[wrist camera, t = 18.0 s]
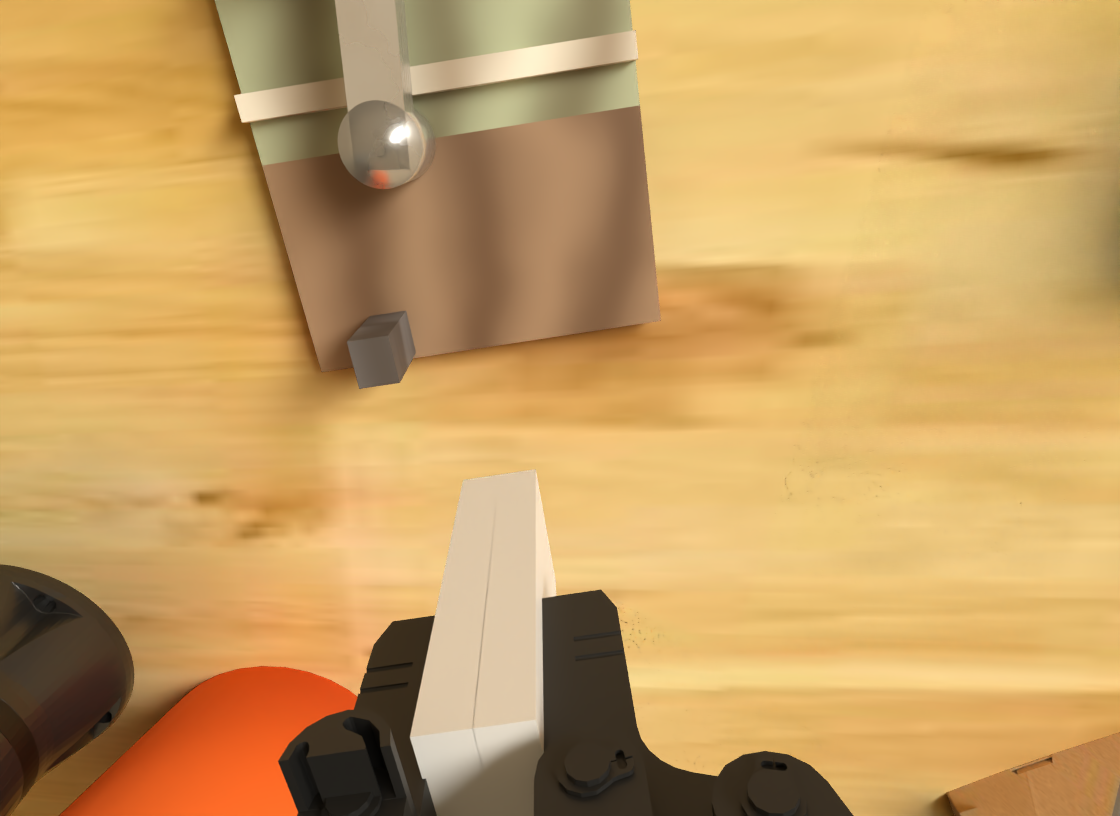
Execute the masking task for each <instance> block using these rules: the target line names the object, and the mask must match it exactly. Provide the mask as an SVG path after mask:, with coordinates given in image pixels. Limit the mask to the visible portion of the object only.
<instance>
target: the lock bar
mask: <svg viewBox="0 0 1120 816" xmlns="http://www.w3.org/2000/svg"><path fill="white" fill-rule="evenodd" d="M335 5H336V14H337V23H338V31H339V40H340V48H341V57H342V65H343V74H344V83H345V91H346V100H347V108H348V113H347V114H346V116H345V117H344V118H343V120H342V122H341V125H340V128H339V132H338V149H339V154H340V157H341V159H342V162H343V164H344V165H345V167H346V169H347V170H348V171H349V172H350V174H351V175H352V176H353V177H354V178H356V179H357V180H358V181H360V182H361V183H363V184H365V185H367V186H370V187H373V188H377V189H390V188H394V187H397V186H400V185H402V184H405V183H407V182H409V181H412V180H414V179H417V178H418V177H420V176H422V175H423V174H424V173H425V172H426V171H427V170H428V169H429V167H430V166H431V164H432V162H433V159H434V156H435V150H436V141H435V136H434V132H433V130H432V128H431V126H430V124H429V122H428V121H427V119H426V118H425V117H424V116H423V115H422V114H421V113H420V112H418V111H417V110H415V109H414V108H413V97H412V86H411V74H410V62H409V50H408V39H407V27H406V15H405V3H404V0H335Z"/></svg>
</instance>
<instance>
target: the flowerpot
mask: <svg viewBox="0 0 1120 816" xmlns="http://www.w3.org/2000/svg"><path fill="white" fill-rule="evenodd" d="M356 700H357V696H356V695H354V694H353V693H352V692H351V691H349V690H347V689H346V688H344V687H342V686H340V685H338V684H337V683H335V682H333V681H331V680H329V679H326V678H324V677H321V676H318V675H315V674H313V673H310V672H306V671H301V670H296V669H291V668H286V667H267V666H260V667H251V668H241V669H237V670H233V671H230V672H226V673H222V674H219V675H217V676H215V677H213V678H211V679H209V680H207V681H205V682H203V683H201V684H199V685H198V686H197V687H195V688H194V689H193V690H192V691H190V692H189V693H188V694H186V695H185V696H184V697H183V698H182V699H181V700H180V701H179V702H178V703H177V704H176V705H175V706H174V707H173V708H172V709H170V710H169V711H168V712H167V713H166V714H165V715H164V716H163V717H162V718H161V719H160V720H159V721H158V722H157V723H156V724H155V725H154V726H153V727H152V728H151V729H149V730H148V731H147V732H146V733H145V734H144V735H143V736H142V737H141V738H140V739H139V740H138V741H137V742H136V743H135V744H134V745H133V746H132V747H131V748H130V749H128V750H127V751H126V752H125V753H124V754H123V755H122V756H121V757H120V758H119V759H118V760H117V761H116V762H115V763H114V764H113V765H112V766H111V767H110V768H109V769H107V770H106V771H105V772H104V773H103V774H102V775H101V776H100V777H99V778H98V779H97V780H96V781H95V782H94V783H93V784H92V785H91V786H90V787H89V788H87V789H86V790H85V791H84V792H83V793H82V794H81V795H80V796H79V797H78V798H77V799H76V800H75V801H74V802H73V803H72V804H71V805H70V806H69V807H68V808H66V809H65V810H64V811H63V812H62V813H61V814H60V815H59V816H297V814H298V811H297V808H296V806H295V803H294V801H293V798H292V796H291V793H290V791H289V788H288V786H287V783H286V780H285V778H284V775H283V773H282V770H281V768H280V765H279V763H278V760H279V759H280V757H281V756H282V754H283V752H284V751H285V749H286V748H287V746H288V744H289V743H290V742H291V741H292V740H293V739H294V738H295V737H296V736H297V735H299V734H300V733H301V732H302V731H303V730H304V729H305V728H306V727H308V726H310V725H311V724H313V723H315V722H317V721H318V720H320V719H322V718H324V717H326V716H328V715H331V714H335V713H338V712H342V711H345V710H354V707H355V704H356Z"/></svg>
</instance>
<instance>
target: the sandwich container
mask: <svg viewBox="0 0 1120 816" xmlns="http://www.w3.org/2000/svg"><path fill="white" fill-rule="evenodd" d="M1051 757H1052V758H1051ZM1048 758H1049V759H1048ZM1045 759H1046V760H1045ZM947 796H948V799H949V802H950V804H951V807H952V810H953V813H954V815H955V816H1120V732H1119V733H1116V734H1113V735H1110V736H1107V737H1104V738H1101V739H1098V740H1094V741H1091V742H1088V743H1085V744H1082V745H1079V746H1076V747H1073V748H1070V749H1067V750H1064V751H1060V752H1057V753H1054V754H1051V755H1050V756H1047V757H1043V758H1040V759H1037V760H1034V761H1031V762H1028V763H1026V764H1023V765H1020V766H1017V767H1014V768H1011V769H1009V770H1005V771H1002V772H1000V773H997V774H994V775H992V776H989V777H986V778H984V779H981V780H978V781H976V782H973V783H970V784H968V785H965V786H962V787H960V788H957V789H954V790H952V791H949V792H947Z"/></svg>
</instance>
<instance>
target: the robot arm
mask: <svg viewBox="0 0 1120 816" xmlns="http://www.w3.org/2000/svg"><path fill="white" fill-rule="evenodd" d="M133 684H134V667H133V661H132V657H131V654H130V650H129V648H128V646H127V643H126V641H125V639H124V637H123V636H122V634H121V632H120V631H119V629H118V628H117V627H116V625H115V624H114V623H113V621H112V620H111V619H110V618H109V617H108V616H107V615H106V613H105V612H104V611H103V610H102V609H100V608H99V607H98V606H97V605H96V604H95V603H94V602H92V601H91V600H90V599H89V598H87V597H86V596H84V595H83V594H82V593H80V592H79V591H77V590H75V589H74V588H72V587H70V586H68V585H67V584H65V583H63V582H61V581H59V580H57V579H54V578H52V577H50V576H47V575H44V574H42V573H39V572H35V571H32V570H28V569H24V568H20V567H15V566H8V565H0V816H10V815H11V813H12V812H13V811H14V809H15V808H16V807H17V805H18V804H19V803H20V801H21V800H22V799H23V797H24V796H25V795H26V794H27V792H28V791H29V790H30V788H31V787H32V786H33V785H34V783H35V782H36V781H38V780H39V779H40V778H42V777H43V776H45V775H46V774H47V773H49V772H50V771H51V770H53V769H54V768H55V767H57V766H58V765H59V764H61V763H62V762H63V761H65V760H66V759H68V758H69V757H70V756H72V755H73V754H74V753H76V752H77V751H78V750H80V749H81V748H82V747H84V746H85V745H87V744H88V743H89V742H91V741H92V740H93V739H95V738H96V737H98V736H99V735H100V734H101V733H103V732H104V731H105V730H106V729H107V728H108V727H109V726H110V725H111V724H112V723H113V722H114V721H115V720H116V719H117V718H118V717H119V715H120V714H121V713H122V711H123V710H124V708H125V707H126V705H127V703H128V701H129V699H130V696H131V693H132V690H133ZM278 763H279V765H280V768H281V770H282V773H283V775H284V778H285V780H286V783H287V786H288V788H289V791H290V793H291V796H292V798H293V801H294V803H295V806H296V808H297V811H298V814H297V816H853V815H852V813H851V812H850V811H849V809H848V808H847V807H846V805H845V804H844V803H843V801H842V800H841V799H840V797H839V796H838V795H837V793H836V792H835V791H834V790H833V788H832V787H831V786H830V784H829V783H828V782H827V781H826V780H825V779H824V778H823V777H822V776H821V775H820V774H819V773H818V772H817V771H816V770H815V769H814V768H813V767H811V766H810V765H809V764H807V763H805V762H803V761H800V760H798V759H796V758H794V757H792V756H790V755H788V754H781V753H774V752H767V751H763V752H757V753H751V754H745V755H742V756H740V757H739V758H737V759H735V760H734V761H732V762H730V763H729V764H727V765H725V767H724V768H723V770H722V771H721V773H720V774H719V776H712V775H706V774H700V773H693V772H689V771H685V770H682V769H678V768H675V767H673V766H671V765H669V764H667V763H665V762H663V761H661V760H660V759H659V758H657V757H656V756H655V755H654V754H653V753H652V752H650V751H649V749H648V748H647V747H646V745H645V744H644V742H643V741H642V739H641V737H640V734H639V731H638V728H637V724H636V718H635V712H634V706H633V700H632V694H631V689H630V683H629V677H628V671H627V665H626V659H625V654H624V647H623V641H622V636H621V630H620V624H619V618H618V612H617V607H616V606H615V605H614V604H613V603H612V602H611V601H610V599H609V598H608V597H607V596H606V595H605V594H604V593H603V591H602V590H596V591H589V592H582V593H575V594H568V595H561V596H556V580H555V575H554V569H553V563H552V558H551V552H550V547H549V541H548V535H547V530H546V524H545V519H544V513H543V507H542V502H541V496H540V491H539V485H538V480H537V474H536V469H535V470H528V471H521V472H514V473H507V474H501V475H494V476H487V477H480V478H474V479H467V480H463V483H462V488H461V493H460V498H459V502H458V507H457V512H456V517H455V522H454V527H453V531H452V536H451V541H450V546H449V551H448V556H447V560H446V565H445V570H444V575H443V580H442V585H441V589H440V594H439V599H438V604H437V609H436V614H435V616H429V617H422V618H415V619H408V620H401V621H394V622H392V623H391V625H390V626H389V627H388V628H387V629H386V631H385V632H384V633H383V634H382V635H381V637H380V638H379V639H378V640H377V641H376V643H375V644H374V646H373V650H372V653H371V656H370V659H369V662H368V665H367V673H365V675H364V678H363V681H362V685H361V688H360V694H358V697H357V700H356V704H355V707H354V710H345V711H342V712H338V713H335V714H331V715H328V716H326V717H324V718H322V719H320V720H318V721H317V722H315V723H313V724H311V725H310V726H308V727H306V728H305V729H304V730H303V731H302V732H301V733H300V734H299V735H297V736H296V737H295V738H294V739H293V740H292V741H291V742H290V743H289V744H288V746H287V748H286V749H285V751H284V752H283V754H282V756H281V757H280V759H279V760H278Z"/></svg>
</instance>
